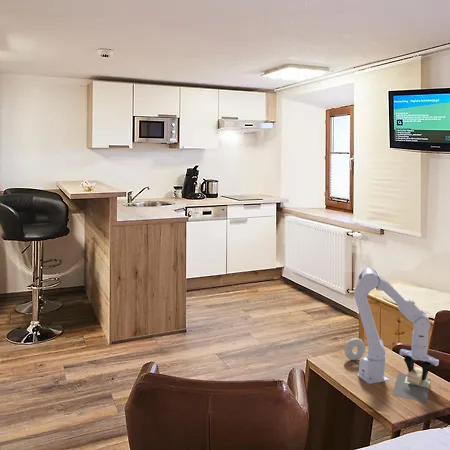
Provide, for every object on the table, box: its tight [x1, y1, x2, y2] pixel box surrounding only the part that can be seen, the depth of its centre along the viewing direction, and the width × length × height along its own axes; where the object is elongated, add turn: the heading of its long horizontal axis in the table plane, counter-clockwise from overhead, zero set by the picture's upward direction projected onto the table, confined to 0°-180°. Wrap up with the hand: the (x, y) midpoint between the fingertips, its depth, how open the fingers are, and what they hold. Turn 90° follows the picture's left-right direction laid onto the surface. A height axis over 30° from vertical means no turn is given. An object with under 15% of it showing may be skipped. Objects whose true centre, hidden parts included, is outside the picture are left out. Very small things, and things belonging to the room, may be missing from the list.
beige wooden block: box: [407, 366, 428, 385], centre depth 186 cm, size 8×4×3 cm, turn 135°
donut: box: [343, 337, 366, 361], centre depth 206 cm, size 10×4×10 cm, turn 108°
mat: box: [391, 372, 431, 404], centre depth 182 cm, size 20×12×1 cm, turn 154°
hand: (417, 377), depth 186 cm, fingers closed on beige wooden block, 4 cm apart
